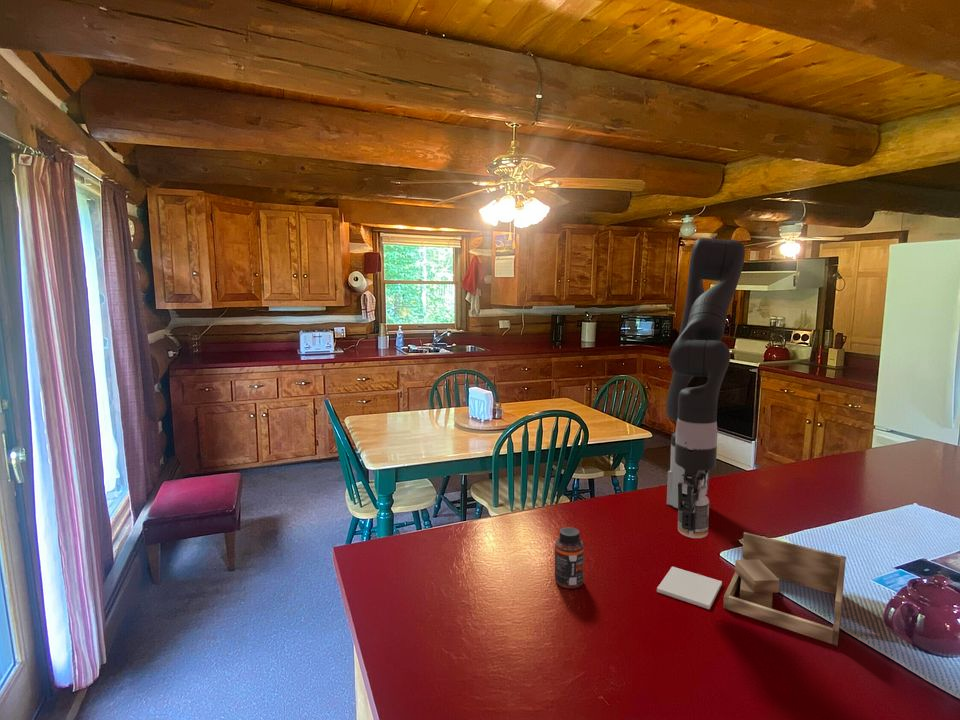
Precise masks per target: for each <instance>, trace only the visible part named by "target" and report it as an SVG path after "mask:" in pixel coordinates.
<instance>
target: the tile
mask: <svg viewBox="0 0 960 720" xmlns="http://www.w3.org/2000/svg"><path fill="white" fill-rule="evenodd" d="M722 585H723V581H722V580H718V579H715V578H712V577H710V576H709V577H708V576H705V575H703V574H700V573H695V572H692V571H689V570H684V569H682V568H678V567H676V566H671V567H670V569H669V570H668V572H667V573H666V575H665V576H664V577H663V579H662V581H661V582H660V584H658V586H657V587H656V593H659V594H662V595H664V596H668V597H670V598H673V599H677V600H680V601H683V602H686V603H689V604H692V605H695V606H698V607H700V608H704V609H707V610H710V609H711V607H712V605H713V604H714V601H715V599H716V598H717V595H718V593H719V591H720V589H721V588H722Z"/></svg>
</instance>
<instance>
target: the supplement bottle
mask: <svg viewBox="0 0 960 720" xmlns="http://www.w3.org/2000/svg"><path fill="white" fill-rule="evenodd" d="M580 538H581V537H580V531H579V529H578V528H576V527H569V526H568V527H562V528H560V530H559V537H557V539H556V540H555V544H554V581H555V583H556V584H557V585H558V586H560V587H561V588H564V589H568V590H569V589H570V590H573V589H578V588H580V587H581V586H583V584H584V577H585V576H584V569H585V568H584V567H585V563H584V562H585V561H584V560H585V545H584V541H583V540H582V539H580Z"/></svg>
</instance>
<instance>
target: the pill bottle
mask: <svg viewBox="0 0 960 720" xmlns="http://www.w3.org/2000/svg"><path fill="white" fill-rule="evenodd" d="M706 493H707V486H706V485H703V487H702V489H701V496H700V500H699V501H698V502H697V504H696V512H695V529H694V530H693V531H690V530H686V529H683V528H682V512H683V511H679V510H677V530H678V532H679V533H680V534H681V535H683V536H685V537H688V538H692V539H702V538H705V537H707V536H708V533H709V521H710V520H709V517H710V499H709V497H708V496H706V495H707V494H708V493H707V494H706ZM696 494H697V492H696V493H693V496H696ZM686 505H688V506H689V503H688V502H686Z"/></svg>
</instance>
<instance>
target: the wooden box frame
mask: <svg viewBox="0 0 960 720" xmlns="http://www.w3.org/2000/svg"><path fill="white" fill-rule="evenodd" d="M742 539H743V541H742V557H741V559H740V560H755V559H759V560H760V561H761V562H762V563H763V564H764V565H765V566H766V567H767V568H768V569H769V570H770V571H771V572H772V573H773V574H774V575H775V576H776V577H777V578H778V579H779V580H782V581H785V582H788V583H793V584H795V585H796V584H797V585H800V586H804V587H807V588H810V589H813V590H818V591H821V592H824V593H828V594H832V595H835V599H834V612H833V613H834V614H833V623H832V624H833V626H832V627H831V626H828V625H826V624H822V623H818V622H815V621H812V620H809V619H806V618H802V617H799V616H796V615H793V614H789V613H786V612H783V611H780V610H777V609H774V608H772V609H771V608H768V607H765V606H761V605H758V604H755V603H752V602H749V601H746V600H742V599H739V598H740V597H736V596H735V594H736V592H737V589H738V587H739V585H740V584H741V578H740V576H739V575H738V574H737V573H736V572H735V571H734V573H733V575H732V578H731V581H730V583H729V585H728V586H727V589H726V590H725V593H724V595H723V604H722V605H723V607H722V608H723V609H725V610H727V611H731V612H734V613H738V614H740V615H742V616H746V617H749V618H753V619H754V620H758V621H761V622H764V623H767V624H771V625H773V626H777V627H779V628H782V629H784V630H785V629H786V630H788V631H792V632H794V633H797V634H801V635H804V636H807V637H810V638H812V639H816V640H819V641H822V642H825V643H828V644H830V645H834V646H838V643H839V634H840V624H841V617H842V616H841V614H842V606H843V605H842V604H843V593H844V585H845V584H844V583H845V574H846V573H845V572H846V560H847V559H846V558H847V557H846V556H844V555H840V554H837V553H836V554H835V553H832V552H828V551H824V550H819V549H815V548H811V547H807V546H803V545H798V544H794V543H792V542H791V543H790V542H787V541H782V540H778V539H773V538H770V537H767V536H766V537H765V536H762V535H757V534H753V533H751V532H745V531H744V532H743V537H742Z"/></svg>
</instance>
